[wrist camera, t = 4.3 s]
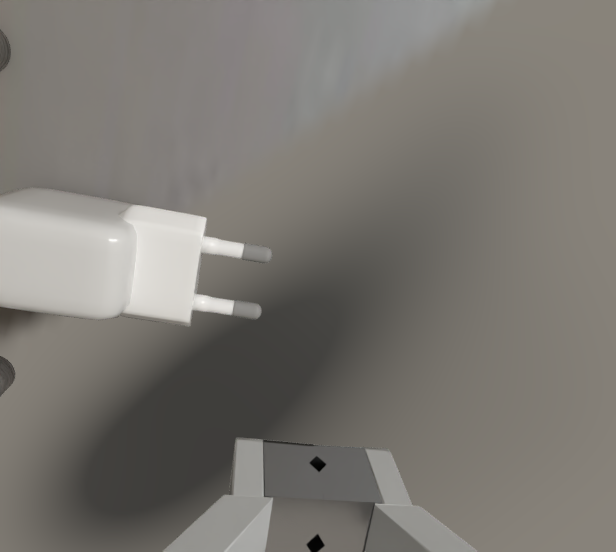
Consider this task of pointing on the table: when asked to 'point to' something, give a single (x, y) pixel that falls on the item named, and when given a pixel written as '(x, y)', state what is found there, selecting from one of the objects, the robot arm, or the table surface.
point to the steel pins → (3, 372)
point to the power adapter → (109, 259)
